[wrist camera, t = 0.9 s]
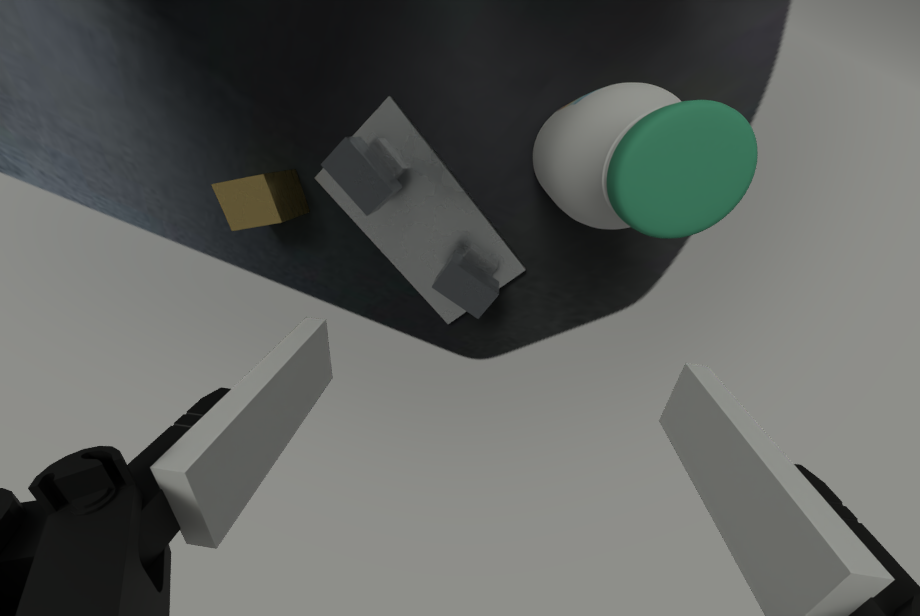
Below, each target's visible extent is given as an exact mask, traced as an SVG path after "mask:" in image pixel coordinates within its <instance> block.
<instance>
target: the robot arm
mask: <svg viewBox="0 0 920 616" xmlns="http://www.w3.org/2000/svg"><path fill="white" fill-rule="evenodd" d="M331 379H332V369H331V361H330V352H329V342H328V333H327V325H326V320H325V319H317V318H308V317H306V318H305V319H304V320H303V321H302V322H301V323H300V324H299V325H298V326H297V327H296V328H295V329H294V330H292V331H291V332H290V333H289V334H288V335H287V336H286V337H285V338H284V339H283V340H282V341H281V342H280V343H279V344H278V345H277V346H276V347H275V348H274V349H273V350H272V351H271V352H269V353H268V354H267V355H266V356H265V357H264V359H262V360H261V361H260V362H259V363H258V364H257V365H256V366H255V367H254V368H253V369H252V370H251V371H250V372H249V373H248V374H247V375H246V376H245V377H244V378H242V379H241V380H240V381H239V382H238V383H237V384H236V385H235V386H234V387H233V388H232V389H228V388H219V389H218V390H216V391H214V392H212V393H210V394H209V395H207V396H205V397H203V398H201V399H200V400H199V401H198V402H197V403H196V404H195V405H194V406H193V407H191V408H190V409H189V410H188V411H187V413H186V415H182V416H181V417H180V418H179V419H178V420H177V421H176V422H175V423H174V425H173V426H170V427H169V428H168V429H167V430H166V431H165V432H164V433H162V434H161V435H160V436H159V437H158V438H157V439H156V440H155V441H153V443H151V444H150V445H149V446H148V447H147V448H146V449H145V450H143V451H142V452H141V453H140V454H139V455H138V456H137V457H136V458H134V459H133V460H132V461H131V462H130V463H129V464H128V465H127V464H126V462H125V460H124V458H123V456H122V454H121V453H120V451H119V450H117V449H116V448H114V447H111V446H97V447H92V448H88V449H83V450H80V451H78V452H76V453H73V454H70V455H68V456H65V457H64V458H62V459H60V460H58V461H57V462H55V463H53V464H51V465H50V466H48V467H47V468H46V469H45V470H44V471H43V472H41V473H40V474H39V475H38V476H36V478H35V479H34V481H33V482H32V483H31V485H30V486H29V488H28V489H29V490H30V492H31V493H32V494H33V496H34V497H35V498H36V501H29V502H23V503H20V502H19V500H18V499H17V498H16V496H15V495H14V494H13V493H12V491H9V490H6V489H3V488H0V616H169V608H170V573H171V551H170V547H169V542H170V541H171V540H172V539H173V537H174V536H175V535H176V533H177V532H178V531H179V530H180V531H181V533H182V535H183V537H184V539H185V541H186V543H187V544H191V545H198V546H204V547H210V548H217V547H218V546H219V544H220V543H221V541H222V540H223V538H224V537H225V535H226V534H227V532H228V531H229V529H230V528H231V527H232V525H233V524H234V522H235V521H236V519H237V518H238V516H239V515H240V513H241V512H242V510H243V509H244V507H245V506H246V504H247V503H248V501H249V500H250V499H251V497H252V496H253V494H254V493H255V491H256V490H257V488H258V487H259V485H260V484H261V482H262V481H263V479H264V478H265V476H266V475H267V473H268V472H269V471H270V469H271V468H272V466H273V465H274V463H275V462H276V460H277V459H278V457H279V456H280V454H281V453H282V451H283V450H284V449H285V447H286V446H287V444H288V443H289V441H290V440H291V438H292V437H293V435H294V434H295V432H296V431H297V429H298V428H299V426H300V425H301V423H302V422H303V420H304V419H305V417H306V416H307V415H308V413H309V412H310V410H311V409H312V407H313V406H314V404H315V403H316V401H317V400H318V398H319V397H320V395H321V394H322V393H323V391H324V390H325V388H326V386H327V385H328V384H329V382H330V381H331ZM659 422H660V423H661V425H662V427H663V429H664V431H665V432H666V434H667V436H668V438H669V440H670V442H671V444H672V445H673V447H674V449H675V451H676V453H677V455H678V456H679V458H680V460H681V462H682V464H683V465H684V467H685V469H686V471H687V473H688V475H689V477H690V478H691V480H692V482H693V484H694V486H695V488H696V490H697V491H698V493H699V495H700V497H701V499H702V500H703V502H704V504H705V506H706V508H707V510H708V512H709V513H710V515H711V517H712V519H713V521H714V522H715V524H716V526H717V528H718V530H719V532H720V534H721V535H722V537H723V539H724V541H725V543H726V545H727V546H728V548H729V550H730V552H731V554H732V556H733V557H734V559H735V561H736V563H737V565H738V566H739V568H740V570H741V572H742V574H743V576H744V577H745V580H746V581H747V583H748V585H749V587H750V589H751V591H752V592H753V594H754V596H755V598H756V600H757V602H758V603H759V605H760V607H761V609H762V611H763V612H764V614H765V616H920V586H919V585H917V583H916V582H915V581H914V580H913V579H912V578H911V577H910V576H909V574H907V572H906V571H905V570H904V569H903V568H902V567H901V566H900V565H899V564H898V562H897V561H896V560H895V559H894V558H893V557H892V556H891V555H890V554H889V553H888V552H887V551H886V549H885V548H884V547H883V546H882V545H881V544H880V543H879V542H878V541H877V540H876V539H875V537H874V536H873V535H872V534H871V533H870V532H869V531H868V530H867V529H866V528H865V527H864V525H862V523H858V521H857V518H856V517H855V516H854V515H853V513H852V512H851V511H850V510H849V509H848V508H847V507H846V506H843V505H842V501H841V500H840V499H839V498H838V497H837V496H836V495H835V494H834V493H833V492H832V491H831V489H829V487H828V486H827V485H826V484H825V483H824V482H823V481H821V480H820V479H819V478H817V477H816V476H815V475H814V474H812V473H811V472H809V471H808V470H807V469H806V468H804V467H803V466H802V465H797V464H793V463H792V462H791V461H790V459H788V457H787V456H786V455H785V454H784V453H783V451H782V450H781V449H780V448H779V447H778V446H777V445H776V444H775V443H774V441H773V440H772V439H771V438H770V437H769V435H768V434H767V433H766V432H765V431H764V430H763V429H762V427H761V426H760V425H759V424H758V423H757V422H756V421H755V419H754V418H753V417H752V416H751V415H750V414H749V413H748V411H747V410H746V409H745V408H744V407H743V406H742V405H741V403H740V402H739V401H738V400H737V399H736V398H735V397H734V396H733V394H732V393H731V392H730V391H729V390H728V389H727V388H726V386H725V385H724V384H723V383H722V382H721V381H720V380H719V378H718V377H717V376H716V375H715V374H714V373H713V372H712V371H711V369H710V368H709V367H708V366H703V365H695V364H686V363H685V365H684V368H683V370H682V372H681V374H680V376H679V378H678V381H677V383H676V385H675V387H674V389H673V392H672V394H671V396H670V398H669V400H668V402H667V405H666V407H665V409H664V411H663V413H662V416H661V418H660V420H659Z"/></svg>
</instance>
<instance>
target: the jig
mask: <svg viewBox="0 0 920 616" xmlns="http://www.w3.org/2000/svg"><path fill="white" fill-rule="evenodd" d="M321 166H322V167H323V169H322V170H321V171H320V172H319V173H318V175H317V176H316V177H315V179H316V180H317V181H318V183H319V184H320V185H321V186H322V187H323V188H324V189H325V190H326V191H327V192H328V194H329V195H330V196H331V197H332V198H333V199H334V200H335V201H336V202H337V203H338V204H339V206H340V207H341V208H342V209H343V210H344V211H345V212H346V213H347V214H348V215H349V217H350V218H351V219H352V220H353V221H354V222H355V223H356V224H357V225H358V226H359V227H360V229H361V230H362V231H363V232H364V233H365V234H366V235H367V236H368V237H369V238H370V239H371V241H372V242H373V243H374V244H375V245H376V246H377V247H378V248H379V249H380V250H381V252H382V253H383V254H384V255H385V256H386V257H387V258H388V259H389V260H390V261H391V262H392V264H393V265H394V266H395V267H396V268H397V269H398V270H399V271H400V272H401V273H402V274H403V276H404V277H405V278H406V279H407V280H408V281H409V282H410V283H411V284H412V285H413V287H414V288H415V289H416V290H417V291H418V292H419V293H420V294H421V295H422V296H423V297H424V299H425V300H426V301H427V302H428V303H429V304H430V305H431V306H432V307H433V308H434V310H435V311H436V312H437V313H438V314H439V315H440V316H441V317H442V318H443V319H444V320H445V322H446V323H447V324H449V323H451V322H452V321H454V320H455V319H456V318H458V317H459V316H461V315H462V314H464V313H465V312H466V311H467V312H468V313H470V314H471V315H473V316H474V317H476V318H477V319H479V318H480V316H481V315H482V314H483V313H484V312H485V311H486V309H487V308H488V307H489V306H490V305H491V303H492V302H493V301H494V300H495V299H496V298H497V296H498V295H499V288H501V287H502V286H504V285H505V284H506V283H508V282H509V281H511V280H512V279H514V278H515V277H516V276H518V275H519V274H521V273H522V272H524V271H525V270H526V268H525V266H524V264H523V263H522V262H521V260H520V259H519V258H518V257H517V255H516V254H515V253H514V251H513V250H512V249H511V248H510V246H509V245H508V244H507V243H506V241H505V240H504V239H503V237H502V236H501V235H500V234H499V232H498V231H497V230H496V228H495V227H494V226H493V225H492V223H491V222H490V221H489V220H488V218H487V217H486V216H485V214H484V213H483V212H482V211H481V209H480V208H479V207H478V205H477V204H476V203H475V202H474V200H473V199H472V198H471V197H470V195H469V194H468V193H467V191H466V190H465V189H464V188H463V186H462V185H461V184H460V182H459V181H458V180H457V179H456V177H455V176H454V175H453V173H452V172H451V171H450V170H449V168H448V167H447V166H446V165H445V163H444V162H443V161H442V159H441V158H440V157H439V156H438V154H437V153H436V152H435V150H434V149H433V148H432V147H431V145H430V144H429V143H428V142H427V140H426V139H425V138H424V136H423V135H422V134H421V133H420V131H419V130H418V129H417V127H416V126H415V125H414V124H413V122H412V121H411V120H410V119H409V117H408V116H407V115H406V113H405V112H404V111H403V110H402V108H401V107H400V106H399V104H398V103H397V102H396V101H395V99H394V98H393V97H391V96H389V97H388V98H387V99H386V100H385V101H384V102H383V103H382V104H381V105H380V106H379V107H378V109H377V110H376V111H375V112H374V113H373V114H372V115H371V116H370V117H369V118H368V120H367V121H366V122H365V123H364V124H363V125H362V126H361V127H360V128H359V129H358V131H357V132H356V133H355V134H354V135H353V136H352V137H350V136H346V137H345V138H344V139H343V140H342V141H341V142H340V143H339V145H338V146H337V147H336V148H335V149H334V150H333V151H332V152H331V153H330V155H329V156H328V157H327V158H326V159H325V160H324V161H323V162H322V163H321Z"/></svg>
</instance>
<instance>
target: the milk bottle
mask: <svg viewBox="0 0 920 616" xmlns="http://www.w3.org/2000/svg"><path fill="white" fill-rule="evenodd" d="M756 164H757V143H756V138H755V135H754V132H753V130H752V128H751V126H750V124H749V123H748V121H747V120H746V119H745V118H744V117H743V116H742V115H741V114H740V113H739V112H737V111H736V110H735V109H733V108H731V107H729V106H727V105H725V104H722V103H720V102H716V101H710V100H691V101H683V102H681V101H680V100H679V99H678V98H677V97H676V96H675V95H673V94H672V93H670V92H668V91H667V90H665V89H662V88H660V87H657V86H655V85H651V84H646V83H630V82H628V83H619V84H614V85H610V86H607V87H604V88H601V89H598V90H595V91H593V92H591V93H588V94H586V95H584V96H582V97H580V98H578V99H576V100H574V101H573V102H571V103H569V104H567V105H565V106H563V107H562V108H560V109H559V110H557V111H556V112H555V113H554V114H553V115H552V116H551V117H549V119H548V120H547V121H546V122H545V123H544V125H543V126H542V128H541V129H540V131H539V133H538V135H537V138H536V140H535V144H534V148H533V167H534V171H535V174H536V177H537V179H538V181H539V183H540V185H541V186H542V187H543V189H544V190H545V191H546V193H547V194H548V195H549V196H550V198H551V199H552V200H553V201H554V202H555V203H556V204H557V206H558V207H559V208H560V209H561V210H563V211H564V212H565V213H566V214H567V215H569V216H570V217H571V218H573V219H574V220H576V221H578V222H580V223H582V224H585V225H588V226H590V227H594V228H599V229H624V228H629V227H632V228H633V229H635V230H637V231H639V232H641V233H643V234H645V235H648V236H652V237H657V238H680V237H686V236H690V235H693V234H696V233H699V232H701V231H703V230H705V229H707V228H709V227H711V226H713V225H714V224H716V223H717V222H719V221H720V220H721V219H723V218H724V217H725V216H726V215H727V214H729V212H731V211H732V210H733V209H734V207H735V206H736V205H737V204H738V203H739V202H740V200H741V199H742V197H743V196H744V195H745V193H746V191H747V189H748V188H749V185H750V183H751V181H752V178H753V176H754V173H755V169H756Z"/></svg>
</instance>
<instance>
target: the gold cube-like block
mask: <svg viewBox="0 0 920 616" xmlns="http://www.w3.org/2000/svg"><path fill="white" fill-rule="evenodd" d="M211 185H212V187H213V190H214V192H215V194H216V196H217V199H218V201H219V203H220V205H221V208H222V210H223V212H224V214H225V217H226V219H227V221H228V223H229V225H230V228H231V230H232V231H235V230H241V229H247V228H253V227H259V226H265V225H270V224H276V223H282V222H285V221H287V220H290V219H293V218H295V217H298V216H300V215H303V214H306V213H308V212H310V210H309V207H308V204H307V202H306V199H305V196H304V193H303V190H302V187H301V184H300V181H299V178H298V176H297V173H296V170H295V169H293V170H287V171H280V172H273V173H267V174H261V175H256V176H251V177H246V178H241V179H236V180H231V181H226V182H221V183H215V184H211Z"/></svg>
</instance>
